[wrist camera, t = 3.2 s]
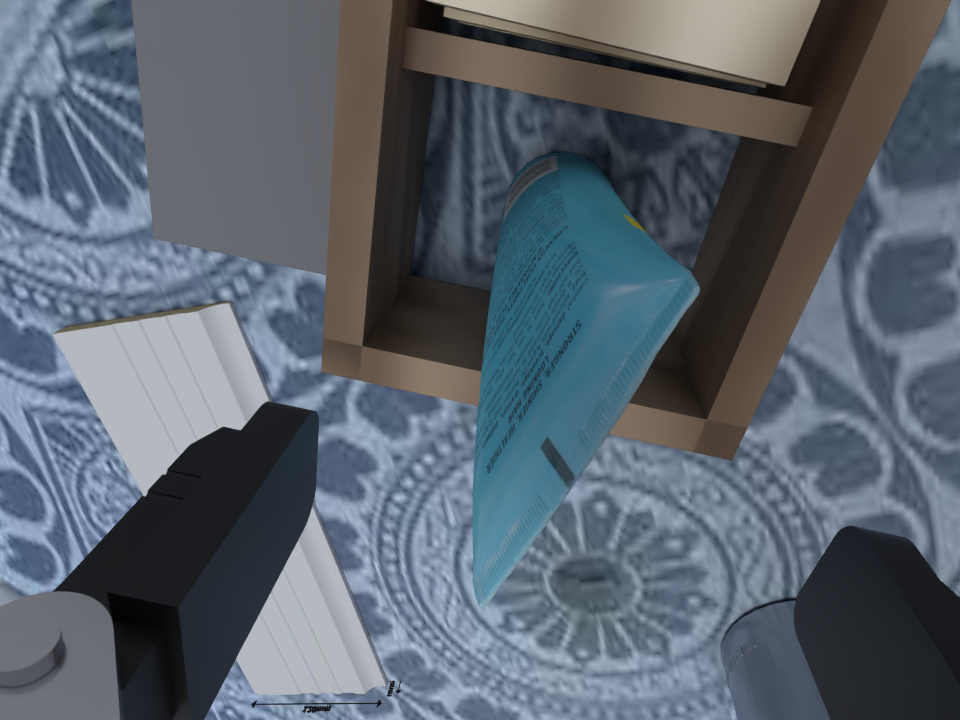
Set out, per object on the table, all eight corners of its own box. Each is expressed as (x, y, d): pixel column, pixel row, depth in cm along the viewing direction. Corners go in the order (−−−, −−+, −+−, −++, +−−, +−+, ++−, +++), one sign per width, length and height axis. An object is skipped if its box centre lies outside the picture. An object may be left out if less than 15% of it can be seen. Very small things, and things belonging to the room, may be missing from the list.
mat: (358, -11, 24) (350, -13, 23) (340, 269, 29) (333, 276, 29) (141, -54, 24) (125, -58, 23) (166, 233, 30) (154, 238, 29)
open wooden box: (893, -150, 20) (1074, -259, 13) (691, 362, 29) (731, 460, 22) (429, -236, 20) (360, -388, 13) (378, 296, 30) (321, 372, 23)
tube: (576, 296, 29) (599, 652, 12) (482, 261, 28) (367, 572, 11) (647, 143, 25) (826, 335, 8) (540, 101, 25) (496, 210, 8)
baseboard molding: (262, 292, 31) (72, 322, 34) (235, 313, 29) (32, 344, 31) (408, 674, 45) (265, 676, 47) (398, 712, 42) (247, 712, 44)
